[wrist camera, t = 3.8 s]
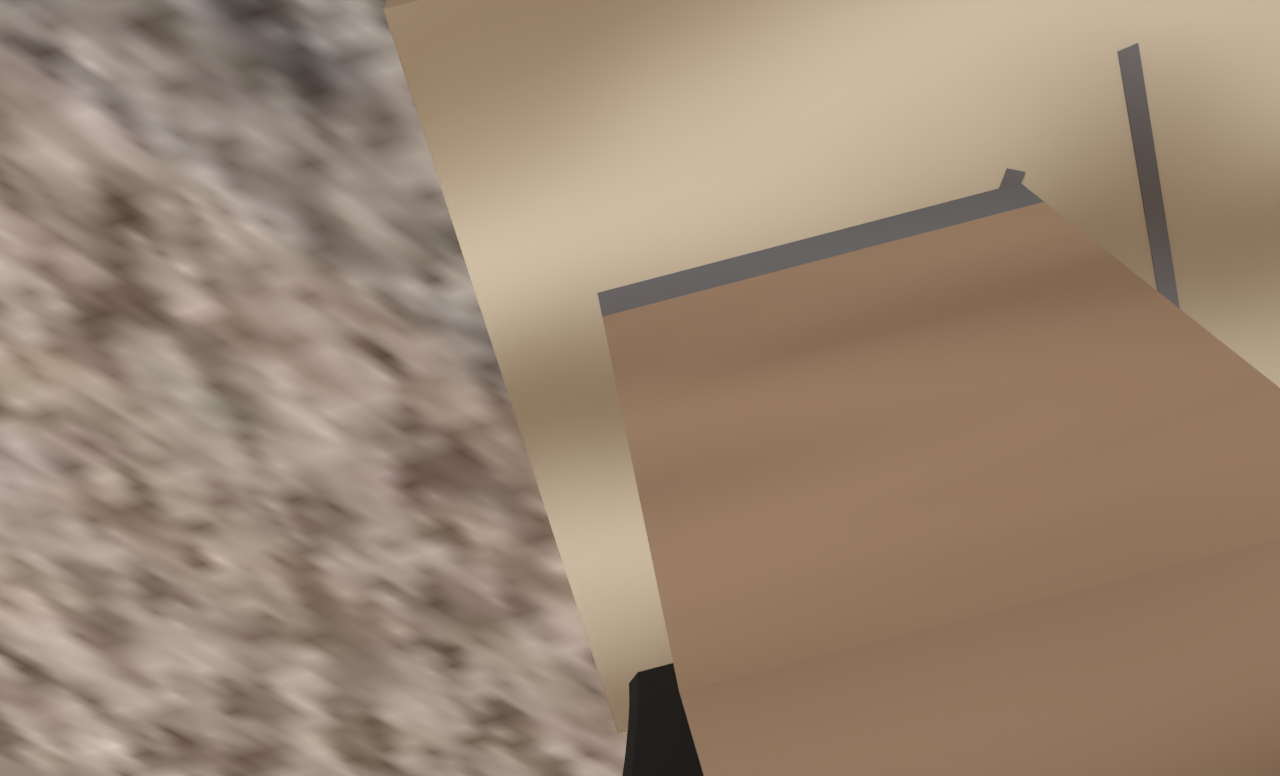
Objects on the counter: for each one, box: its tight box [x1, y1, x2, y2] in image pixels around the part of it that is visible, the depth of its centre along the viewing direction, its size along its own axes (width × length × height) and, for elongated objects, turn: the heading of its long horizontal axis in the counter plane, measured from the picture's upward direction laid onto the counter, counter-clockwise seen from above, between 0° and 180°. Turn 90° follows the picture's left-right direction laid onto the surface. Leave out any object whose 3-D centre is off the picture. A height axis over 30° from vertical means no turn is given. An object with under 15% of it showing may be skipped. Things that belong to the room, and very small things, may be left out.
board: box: [383, 0, 1280, 733], centre depth 18 cm, size 14×24×1 cm, turn 102°
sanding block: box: [598, 183, 1280, 776], centre depth 10 cm, size 8×4×5 cm, turn 13°
